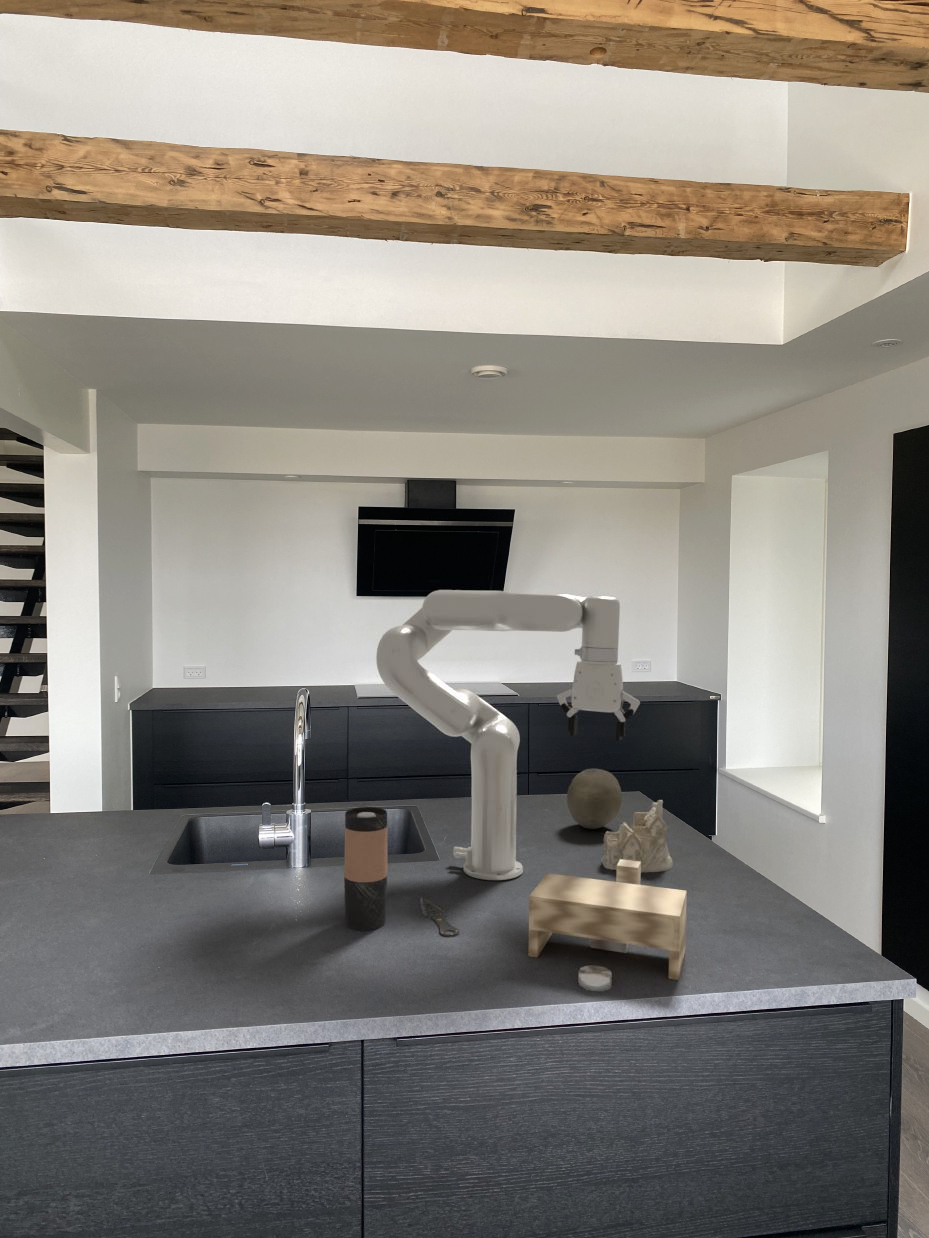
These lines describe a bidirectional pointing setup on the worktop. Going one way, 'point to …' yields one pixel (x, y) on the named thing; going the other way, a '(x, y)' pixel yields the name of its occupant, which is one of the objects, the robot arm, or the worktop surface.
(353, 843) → the travel mug
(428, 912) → the throwing knife
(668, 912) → the oak bench
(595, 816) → the cantaloupe
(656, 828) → the ceramic cottage
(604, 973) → the steel puck
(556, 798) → the worktop surface
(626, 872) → the tan piece
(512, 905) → the worktop surface
